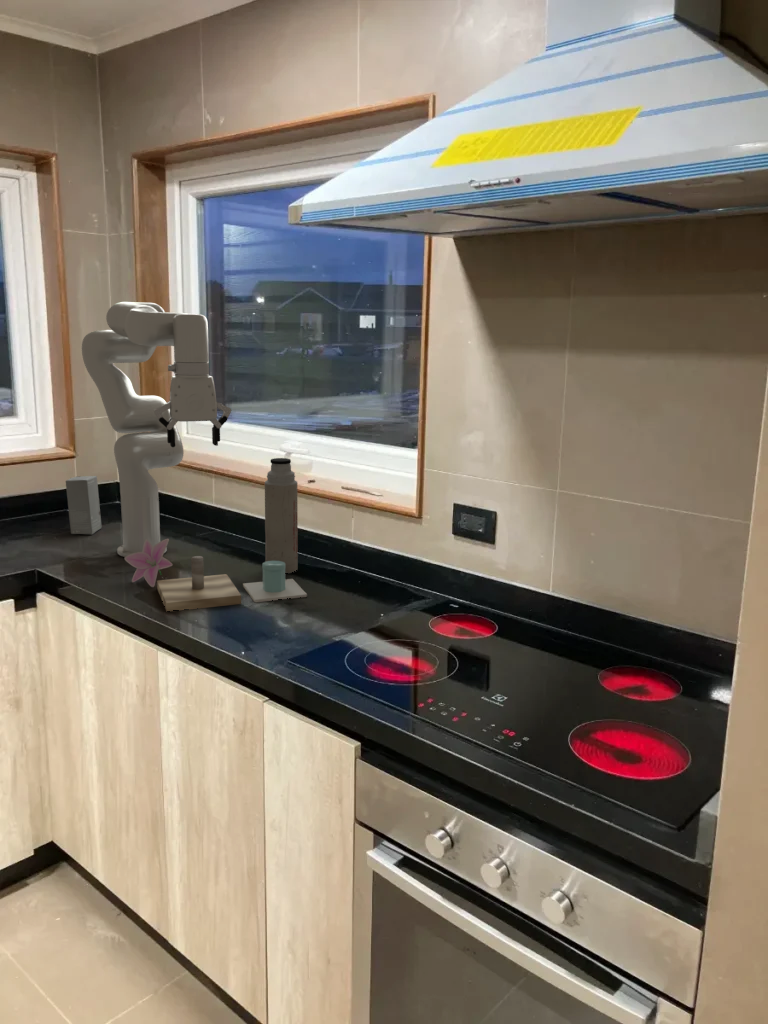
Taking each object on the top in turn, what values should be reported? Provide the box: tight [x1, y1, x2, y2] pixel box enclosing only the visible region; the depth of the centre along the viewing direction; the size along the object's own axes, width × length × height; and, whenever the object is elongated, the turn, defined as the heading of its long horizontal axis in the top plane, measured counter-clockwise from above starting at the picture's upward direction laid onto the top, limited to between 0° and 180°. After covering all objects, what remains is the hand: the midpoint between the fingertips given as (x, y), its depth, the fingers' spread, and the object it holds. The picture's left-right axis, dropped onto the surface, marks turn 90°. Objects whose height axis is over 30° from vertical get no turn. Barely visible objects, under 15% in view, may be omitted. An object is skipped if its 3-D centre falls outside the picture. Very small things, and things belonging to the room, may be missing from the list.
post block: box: [156, 555, 242, 612], centre depth 184 cm, size 16×16×9 cm
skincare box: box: [65, 475, 102, 535], centre depth 236 cm, size 8×7×16 cm
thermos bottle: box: [264, 457, 299, 574], centre depth 203 cm, size 8×8×28 cm
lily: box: [124, 538, 174, 588], centre depth 195 cm, size 12×12×10 cm
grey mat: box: [242, 578, 308, 603], centre depth 189 cm, size 12×12×1 cm
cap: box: [261, 561, 286, 593], centre depth 189 cm, size 5×5×6 cm
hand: (194, 445), depth 189 cm, fingers open, 9 cm apart
